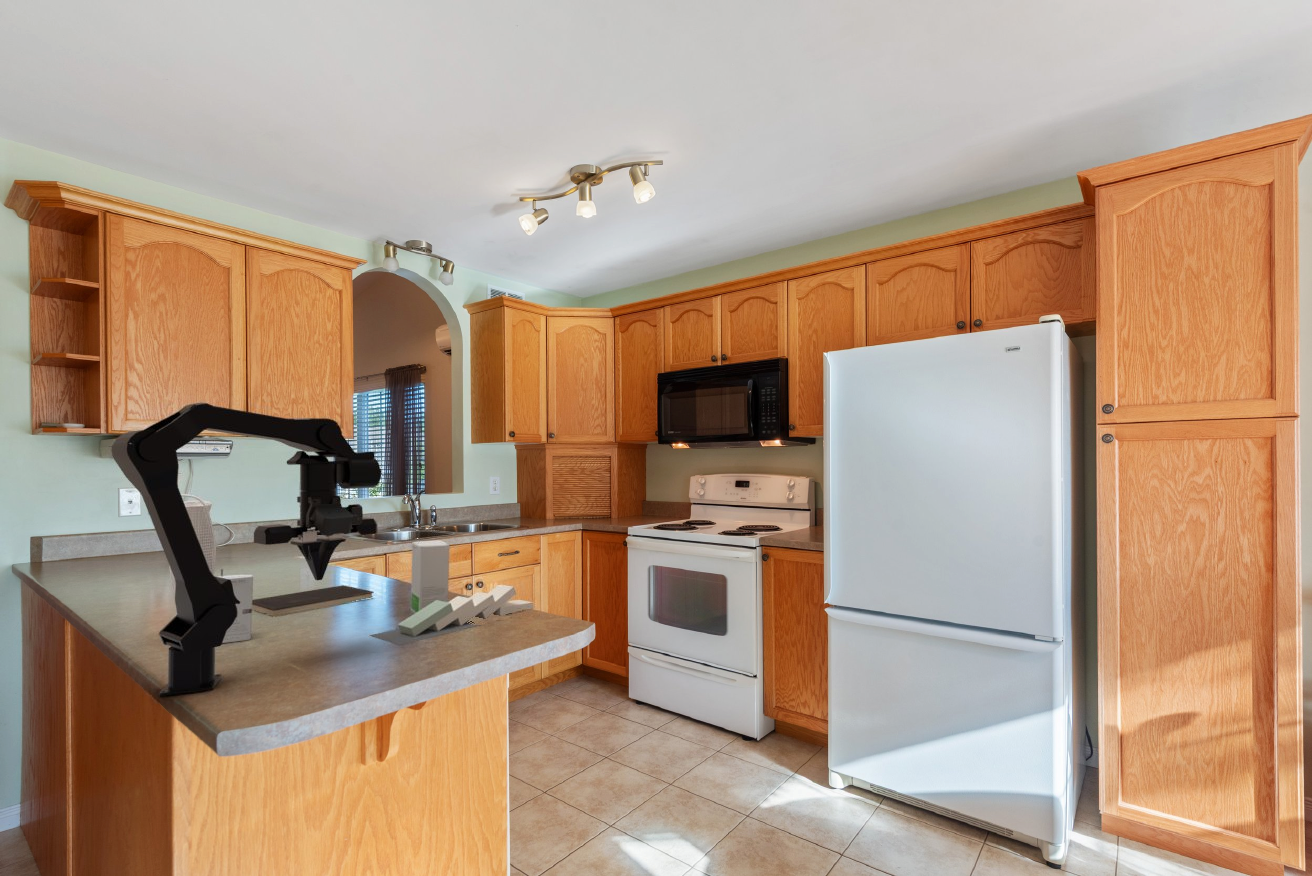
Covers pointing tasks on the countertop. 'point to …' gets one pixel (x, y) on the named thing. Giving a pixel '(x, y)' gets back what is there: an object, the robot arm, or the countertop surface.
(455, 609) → the domino
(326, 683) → the countertop surface
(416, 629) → the domino
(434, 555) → the skincare box
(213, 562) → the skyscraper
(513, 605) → the domino
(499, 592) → the domino
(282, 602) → the hardcover book
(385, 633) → the mat
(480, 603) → the domino
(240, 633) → the skincare box
